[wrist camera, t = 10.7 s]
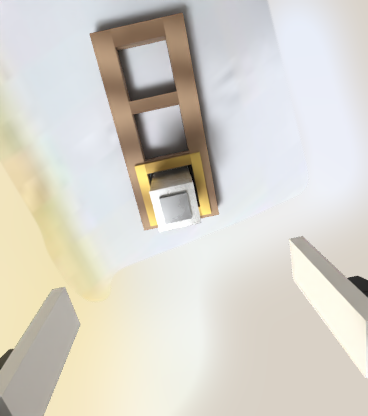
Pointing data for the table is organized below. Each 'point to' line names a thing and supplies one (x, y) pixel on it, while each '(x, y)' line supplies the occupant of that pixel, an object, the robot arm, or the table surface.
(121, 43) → the board
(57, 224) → the table surface
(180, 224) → the block
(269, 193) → the table surface
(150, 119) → the table surface
